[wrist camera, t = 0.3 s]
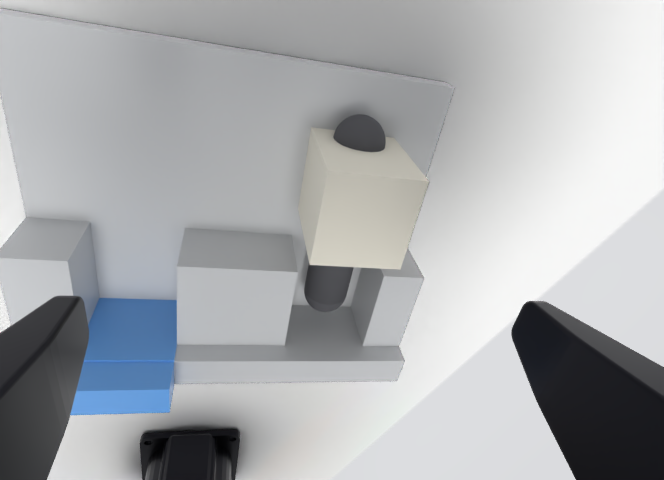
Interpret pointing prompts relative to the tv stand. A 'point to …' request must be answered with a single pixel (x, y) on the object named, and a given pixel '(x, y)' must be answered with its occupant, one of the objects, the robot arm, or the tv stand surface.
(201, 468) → the robot arm
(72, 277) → the grey backboard with ledge
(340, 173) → the cream cube with dome
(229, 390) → the tv stand surface
